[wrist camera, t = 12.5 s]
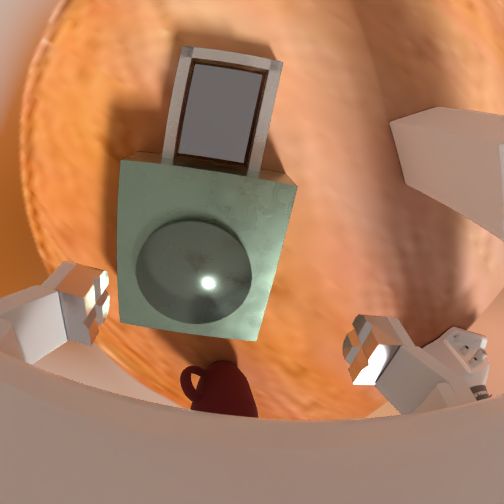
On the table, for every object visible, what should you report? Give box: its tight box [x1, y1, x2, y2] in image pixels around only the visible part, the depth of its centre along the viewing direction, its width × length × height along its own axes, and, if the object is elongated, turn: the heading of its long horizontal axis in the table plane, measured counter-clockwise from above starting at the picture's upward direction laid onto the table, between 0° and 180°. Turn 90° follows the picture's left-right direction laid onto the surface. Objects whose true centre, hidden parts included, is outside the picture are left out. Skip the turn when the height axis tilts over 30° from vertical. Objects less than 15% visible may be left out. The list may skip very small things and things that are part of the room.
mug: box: [180, 361, 258, 418], centre depth 33 cm, size 11×8×10 cm
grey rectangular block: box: [178, 64, 262, 163], centre depth 22 cm, size 5×7×5 cm
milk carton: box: [389, 107, 504, 242], centre depth 18 cm, size 7×7×19 cm
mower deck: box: [117, 46, 298, 341], centre depth 25 cm, size 14×26×6 cm, turn 169°
